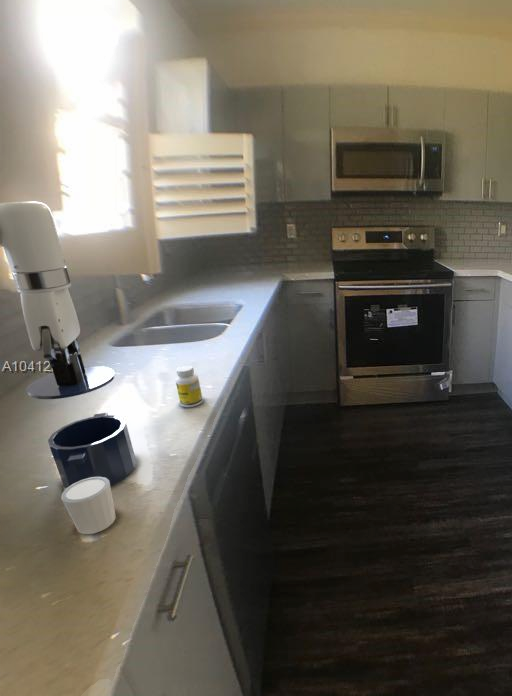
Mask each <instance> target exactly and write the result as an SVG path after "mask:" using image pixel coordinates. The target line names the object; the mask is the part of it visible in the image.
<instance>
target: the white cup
mask: <svg viewBox="0 0 512 696" xmlns="http://www.w3.org/2000/svg"><path fill="white" fill-rule="evenodd" d="M111 487H112V486H110V482H109V480H108V479H107V478H105V477H90V478H87V479H83V480H80V481H78V482H76V483H74V484H72V485H71V486H69V487H68V488H66V489H65V488H64V490H63V491H62V493H61V496H60V499H61V501H62V503H63V505H64V507H65V510H67V513H68V515H69V516H70V518H71V520H72V522H73V524H74V526H75V527H76V530H77V532H78V533H79V534H81V535H92V534H93V535H94V534H97V533H99V532H103V531H104V530H106V529H108V528H109V527H111V525H113V524H114V522H115V520H116V511H115V504H114V500H113V494H112V488H111Z"/></svg>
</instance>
